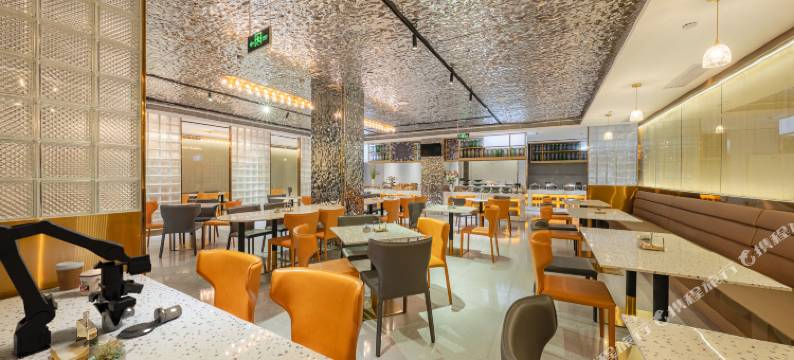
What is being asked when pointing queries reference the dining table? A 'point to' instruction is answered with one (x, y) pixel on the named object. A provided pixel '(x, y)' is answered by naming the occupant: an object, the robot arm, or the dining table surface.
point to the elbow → (127, 313)
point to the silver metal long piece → (152, 322)
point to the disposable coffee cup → (69, 274)
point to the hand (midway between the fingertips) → (112, 323)
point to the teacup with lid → (90, 281)
